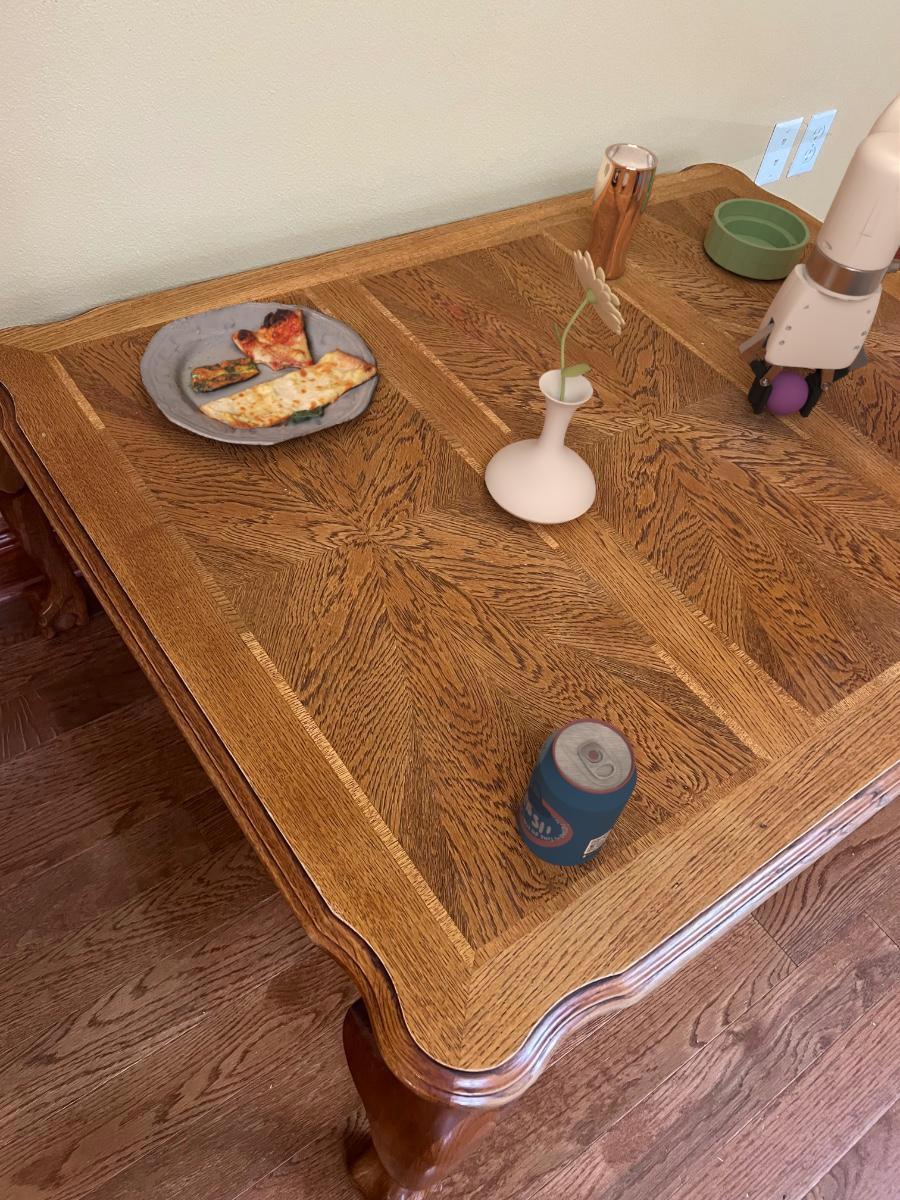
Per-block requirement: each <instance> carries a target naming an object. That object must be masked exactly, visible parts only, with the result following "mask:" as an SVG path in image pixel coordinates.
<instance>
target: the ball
mask: <svg viewBox="0 0 900 1200" xmlns="http://www.w3.org/2000/svg"><path fill="white" fill-rule="evenodd" d="M771 384H772V387H773V390H772V392H771V395H770V397H769V399H768V401H767V403H766V405H765V408H766V409H767V410H768V411H769V412H770V413H772V414H774V415H776V416H789V415H793V414H795V413H797V412H799V410H800V409H801V408H802V407H803V405H804V404H805V402H806V400H807V398H808V385H807V382H806V380H805V378H804V377H803V375H802V374H800V373H798V372H797V371H794V370H789V369H788V370H787V369H785V370H781V371H780V372H779V374H778V375H777V376H776V377H775V378H774V380H773V381H772V382H771Z"/></svg>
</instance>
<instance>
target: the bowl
mask: <svg viewBox="0 0 900 1200" xmlns="http://www.w3.org/2000/svg"><path fill="white" fill-rule="evenodd" d="M707 227H708V228H707V229H706V233H705V236H704V240H703V247H704V250H705V253H706V254H707V255H708V256H709V257H710V258H711V259H712V260H713V261H714V263H716V264H718V265H719V266H721V267H722V268H724V269H725V270H728V271H730V272H732V273H734V274H737V275H740V276H743V277H747V278H750V279H754V280H755V279H756V280H767V281H771V280H780V279H784V278H787V277H788V276H789V274H790V273H791V272H792V270H793V269H794V268H795V267H796V265H798V264H800V261H801V260H802V257H803V255H804V253H805V250H806V249H807V246H808V244H809V242H810V239H811V238H810V237H811V230H810V229H809V226H808V225H807V224H806V222H805V221H803V220H802V219H801V217H800V216H798V214H797V215H796V214H795V213H794V212H792V211H790V209H789V210H788V209H787V208H785V207H782V206H780V205H778V204H776V203H772V202H769V201H765V200H761V199H757V198H745V197H741V198H730V199H727V200H725V201H722V202H720V203H719V204H718V205H717V206H716V207H715V208H714V210H713V213H712V216H711V219H710V222H709V224H708V226H707Z"/></svg>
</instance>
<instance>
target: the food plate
mask: <svg viewBox="0 0 900 1200" xmlns="http://www.w3.org/2000/svg"><path fill="white" fill-rule="evenodd" d="M139 364H140V367H139V368H140V369H139V370H140V376H141V379H142V381H141V382H142V384H143V385H144V388H145V389H146V391H147V393H148V395H149V397H151V399H152V400H153V401H154V404H156V406H157V407H158V409H159V410H160V411H161V413H162V414H164V416H165V417H166V418H167V419H168V421H170V422H171V423H173V424H174V425H177V426H179V427H180V428H182V429H186V430H188V431H189V432H192V433H195V434H197V435H198V436H203V437H205V438H207V439H213V440H215V441H220V442H224V443H231V444H237V445H251V446H258V445H259V446H260V445H261V446H273V445H275V444H278V443H281V442H282V443H283V442H285V441H288V440H291V439H294V438H299V437H301V436H302V437H305V436H306V435H310V434H313V433H316V432H319V431H321V430H324V429H325V430H326V429H327V428H331V427H334V426H336V425H339V424H342V423H345V422H346V423H348V422H349V421H352V420H354V419H355V418H357V417H358V416H360V415H362V414H364V412H365V411H366V410H367V409H368V408H369V406H370V405H371V402H372V400H373V398H374V394H375V392H376V390H377V388H378V385H379V383H380V380H381V379H380V376H379V372H378V362H377V358H376V356H375V355H374V354H373V351H372V350H371V348H370V347H369V345H368V344H367V342H366V341H365V339H364V338H363V337H362V335H361V334H360V333H358V332H357V331H356V330H355V329H354V328H352V327H351V326H350V325H349V324H347V323H346V322H343V321H342V320H340V319H338V318H335V317H333V316H330V315H328V314H326V313H324V312H322V311H319V310H316V309H315V308H313V307H309V306H306V305H302V304H301V305H300V304H291V303H290V304H289V303H288V304H284V303H280V302H277V301H270V302H257V301H243V302H239V303H236V304H230V305H228V306H227V305H225V306H222V307H218V308H213V309H208V310H207V311H203V312H198V313H194V314H191V315H187V316H183V317H180V318H176V319H174V320H172V321H171V322H169V323H167V324H166V325H165V326H162V327H161V328H160V329H159V330H158V331H157V332H156V333H155V334H154V335H153V336H152V337H151V339H150V341H149V343H148V344H147V345H146V347H145V350H144V353H143V355H142V357H141V361H140V362H139Z"/></svg>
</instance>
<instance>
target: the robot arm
mask: <svg viewBox="0 0 900 1200" xmlns="http://www.w3.org/2000/svg"><path fill="white" fill-rule="evenodd" d="M899 248H900V92H899V93H898V94H897V95H896V97H894V99H893V100H892V101H890V102H889V104H888V105H887V106H886V108H885V109H883V111H882V112H881V114H880V115H879V116H878V118H877V119H876V120H875V122H874V123H873V125H872V126H871V128H870V130H869V132H868V133H867V136H866V137H865V138H863V140H861V142H860V143H859V144H858V145H857V147H856V148H855V150H854V153H853V154H852V157H851V159H850V161H849V164H848V165H847V168H846V170H845V173H844V174H843V177H842V179H841V181H840V184H839V186H838V188H837V191H836V192H835V194H834V197H833V200H832V202H831V204H830V206H829V209H828V211H827V213H826V216H825V218H824V220H823V223H822V224H821V227H820V229H819V232H818V234H817V237H816V238H815V241H814V243H813V245H812V247H811V250H810V252H809V254H808V256H807V258H806V261H805V263H799V264H798V265H796V267H795V268H794V269H793V270H792V272H791V273H790V274H789V276H786V279H785V280H783V283H782V284H781V286H780V288H779V289H778V291H777V293H776V294H775V296H774V298H773V299H772V302H771V303H770V305H769V307H768V309H767V311H766V313H765V314H764V317H763V319H762V320H761V323H760V324H759V327H758V329H757V333H755V334H754V335H753V336H751V337H749V338H747V340H745V341H744V342H742V343H741V344H739V345H738V346H737V348H736V351H737V353H738V356H739V359H740V360H742V362H743V363H744V364H745V365H746V366H747V367H749V368H750V370H751V372H752V373H753V374H754V376H755V377H754V379H753V381H752V383H751V386H750V388H749V389H748V390H749V391H748V392H747V402H748V403H749V404H750V406H751V410H752V412H753V414H754V415H755V416H760V415H761V414H762V413H763V412H764V409H765V408H766V406H765V405H766V403H767V401H768V399H769V397H770V395H771V392H772V390H773V387H772V384H771V382H772V381H773V380H774V378H775V377H776V376H777V375H778V374H779V372H780V371H783V369H784V367H790V368H805V369H809V368H814V369H813V372H809V373H808V374H807V375H806V376H805V378H804V379H805V380H806V382H807V385H808V398H807V400H806V402H805V404H804V405H803V407H802V408H801V409H800V410H798V413H799V416H800V417H801V418H807V419H808V418H809V417H810V415H811V413H812V411H813V409H814V408H815V407H816V406H817V404H818V402H819V400H820V398H821V397H822V394H823V392H824V391H828V390H830V389H831V388H832V386H833V383H835V382H838V381H839V380H841V379H842V378H845V377H847V376H848V375H849V373H853V372H855V371H857V370H859V369H862V368H863V367H865V366H867V365H868V364H869V359H868V355H867V354H866V350H865V348H864V343H865V341H866V339H867V336H868V334H869V332H870V330H871V328H872V325H873V322H874V319H875V316H876V314H877V310H878V307H879V303H880V301H881V297H882V296H881V295H882V292H883V286H882V283H883V281H884V280H885V278H886V276H887V275H889V274H896V273H897V272H898V271H899V270H900V259H899V258H898V259H897V258H895V255H896V254H897V252H898V250H899ZM764 348H765V352H764V354H763V355H762V356H761V357H760V356H759V354H758V352H760V351H761V350H762V349H764Z"/></svg>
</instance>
